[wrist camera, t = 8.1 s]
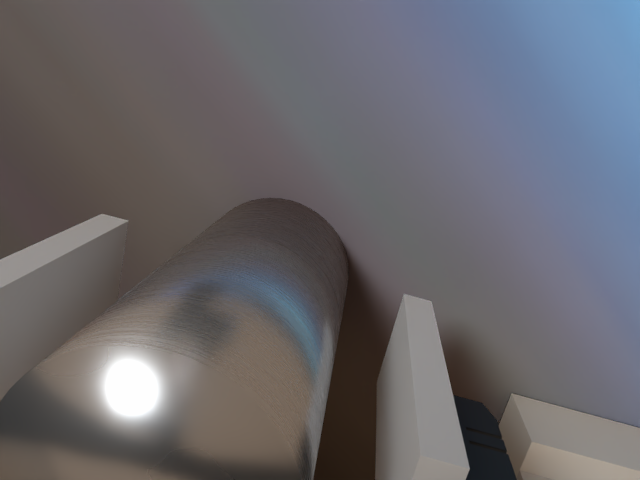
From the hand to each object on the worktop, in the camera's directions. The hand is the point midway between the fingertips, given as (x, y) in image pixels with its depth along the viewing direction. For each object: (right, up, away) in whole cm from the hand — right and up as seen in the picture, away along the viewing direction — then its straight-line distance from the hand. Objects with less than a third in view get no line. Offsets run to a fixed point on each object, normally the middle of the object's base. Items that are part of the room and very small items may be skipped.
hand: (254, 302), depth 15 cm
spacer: (0, +1, +3) cm, 3 cm away
